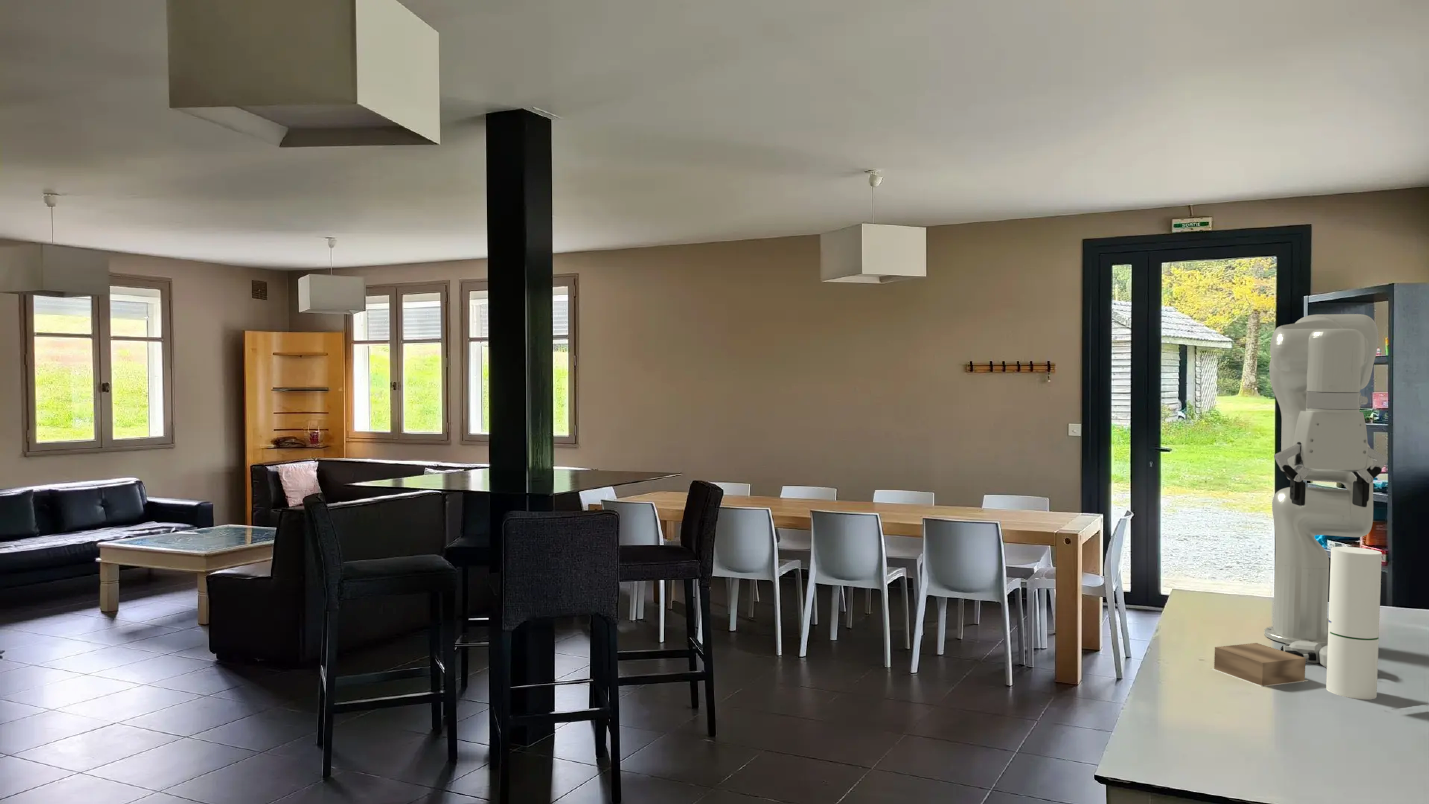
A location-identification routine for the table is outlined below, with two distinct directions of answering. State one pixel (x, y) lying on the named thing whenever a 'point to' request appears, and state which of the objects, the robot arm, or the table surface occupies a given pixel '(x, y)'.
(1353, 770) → the table surface
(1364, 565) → the cylindrical container
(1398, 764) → the table surface
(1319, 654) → the robot toy
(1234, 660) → the plinth
